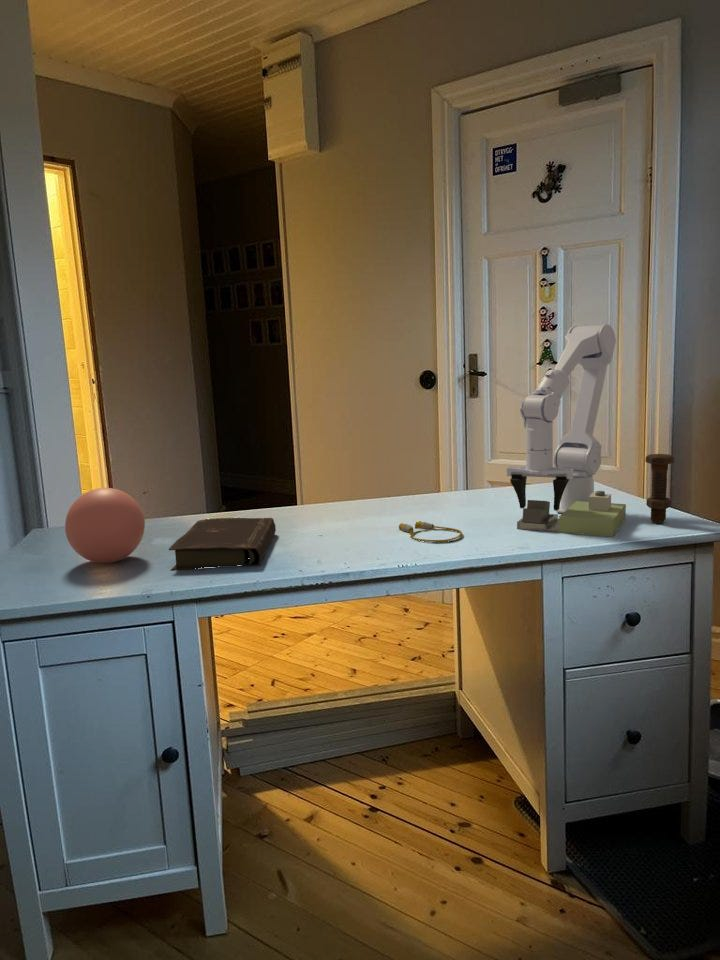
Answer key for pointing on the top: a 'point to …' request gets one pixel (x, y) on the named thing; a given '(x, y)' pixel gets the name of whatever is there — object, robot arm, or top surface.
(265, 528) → the diary
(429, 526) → the extension cord
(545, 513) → the stepped block
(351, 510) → the top surface
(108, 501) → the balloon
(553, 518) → the grey rectangular frame
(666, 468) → the bolt
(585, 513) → the deck
